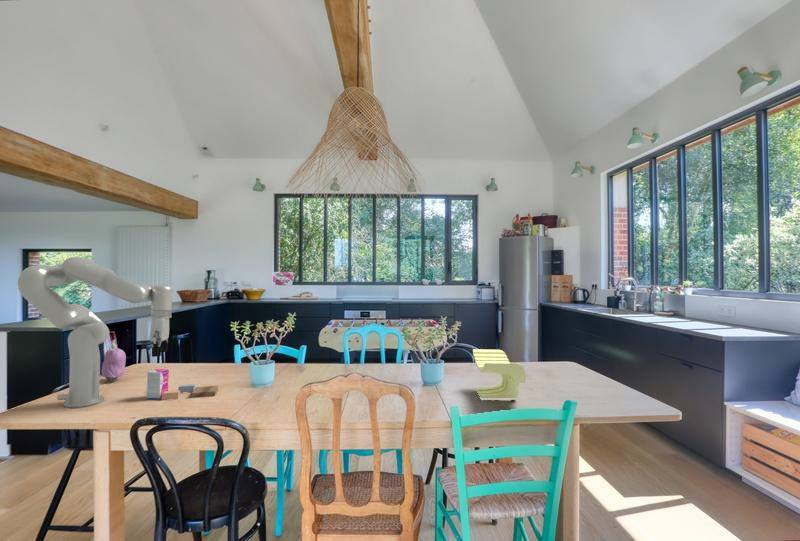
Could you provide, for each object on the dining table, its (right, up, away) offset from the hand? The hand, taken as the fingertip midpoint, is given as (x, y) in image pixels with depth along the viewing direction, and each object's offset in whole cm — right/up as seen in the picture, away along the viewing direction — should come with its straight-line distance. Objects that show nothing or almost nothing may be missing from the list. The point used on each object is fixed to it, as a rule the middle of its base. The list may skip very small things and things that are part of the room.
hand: (159, 354), depth 161 cm
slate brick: (+7, -19, +8) cm, 22 cm away
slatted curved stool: (+146, -20, +4) cm, 147 cm away
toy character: (-39, -19, +24) cm, 49 cm away
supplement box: (-1, -19, -1) cm, 19 cm away
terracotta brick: (+6, -19, -2) cm, 20 cm away
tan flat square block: (+17, -19, +5) cm, 26 cm away
